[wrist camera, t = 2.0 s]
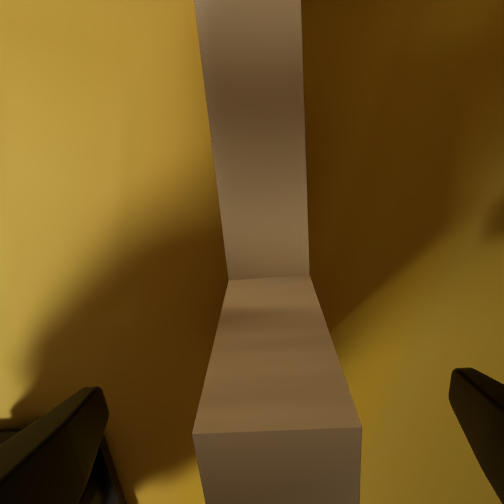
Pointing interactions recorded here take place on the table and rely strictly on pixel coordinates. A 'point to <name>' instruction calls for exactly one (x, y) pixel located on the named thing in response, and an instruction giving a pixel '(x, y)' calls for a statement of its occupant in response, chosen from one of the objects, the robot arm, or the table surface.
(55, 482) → the robot arm
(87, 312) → the table surface
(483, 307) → the table surface
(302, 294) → the birch pusher
